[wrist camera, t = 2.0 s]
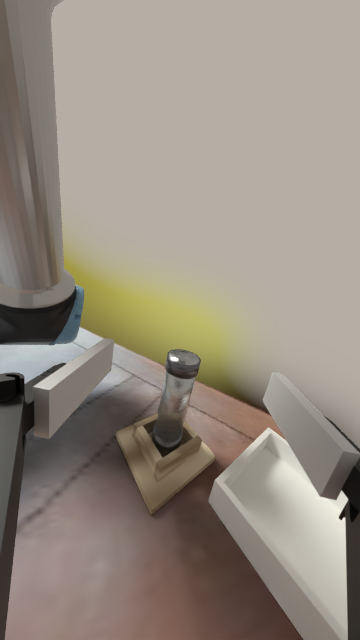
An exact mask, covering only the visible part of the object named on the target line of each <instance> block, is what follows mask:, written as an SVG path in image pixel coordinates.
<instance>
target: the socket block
mask: <svg viewBox="0 0 360 640" xmlns="http://www.w3.org/2000/svg"><path fill="white" fill-rule="evenodd" d="M157 414H158V413H157ZM157 414H155V415H153V416H150V417H148V418H146V419H143V420H141V421H139V422H137V423H134V424H132V425H130V426H128V427H125V428H123V429H121V430H118V431H116V438H117V440H118V443H119V445H120V447H121V449H122V452H123V454H124V456H125V458H126V461H127V463H128V465H129V467H130V470H131V472H132V474H133V476H134V479H135V481H136V483H137V485H138V488H139V490H140V492H141V494H142V497H143V499H144V501H145V503H146V506H147V508H148V510H149V512H150V515H152V514H153V513H155V512H156V511H157V510H158V509H159V508H160V507H162V506H163V505H164V504H165V503H166V502H167V501H169V500H170V499H171V498H172V497H173V496H174V495H175V494H177V493H178V492H179V491H180V490H181V489H182V488H184V487H185V486H186V485H187V484H188V483H189V482H191V481H192V480H193V479H194V478H195V477H196V476H198V475H199V474H200V473H201V472H202V471H203V470H204V469H206V468H207V467H208V466H209V465H210V464H211V463H213V462H214V460H215V457H216V456H215V455H214V454H213V453H212V452H211V450H210V449H209V448H208V447H207V446H206V445H205V444H204V442H203V441H202V440H201V438H200V437H199V436H198V435H197V434H196V433H195V432H194V430H193V429H192V428H191V427H190V426H189V425H188V424H187V423H186V421H184V426H183V435H182V439H181V443H180V447H179V448H177V449H176V450H174V451H173V452H171V453H170V454H168V455H166V456H165V457H163V458H162V456H161V454H160V453H159V451H158V450H157V448H156V446H155V445H154V443H153V442H152V440H151V439H152V433H153V428H154V424H155V423H156V419H157Z"/></svg>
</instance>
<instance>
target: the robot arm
mask: <svg viewBox="0 0 360 640" xmlns="http://www.w3.org/2000/svg"><path fill="white" fill-rule="evenodd" d="M62 1H63V0H0V345H55V344H67V343H71V342H72V341H74V340H75V338H76V337H77V334H78V330H79V326H80V321H81V313H82V309H83V301H84V289H83V288H82V287H79V286H77V285H75V281H74V278H73V277H72V275H71V274H70V273H69V272H68V271H67V270H65V269H64V259H63V241H62V221H61V203H60V183H59V166H58V165H59V164H58V145H57V126H56V108H55V90H54V71H53V52H52V32H51V16H52V12H53V9H54V7H55V6H56V5H58V4H59V3H60V2H62ZM113 346H114V340H111V339H106V338H105V339H103V340H102V341H100V342H99V343H97V344H96V345H94V346H93V347H91V348H90V349H88V350H87V351H85V352H84V353H82V354H81V355H79V356H78V357H76V358H75V359H73V360H72V361H70V362H69V363H67V364H66V363H61V364H58V365H55V366H53V367H51V368H50V369H48V370H47V371H46V372H43V373H42V374H40V376H37V377H35V378H34V379H32V380H31V381H29V382H27V383H26V384H24V376H23V375H22V374H20V373H4V374H0V640H5V630H6V621H7V612H8V602H9V593H10V584H11V574H12V565H13V556H14V546H15V537H16V528H17V518H18V509H19V500H20V490H21V481H22V472H23V462H24V453H25V444H26V433H27V432H28V431H29V430H30V429H31V428H32V427H33V426H34V436H36V437H41V438H45V439H50V438H51V437H52V435H53V434H54V433H55V432H56V431H57V430H58V429H59V428H60V426H61V425H62V424H63V423H64V422H65V421H66V420H67V419H68V418H69V416H70V415H71V414H72V413H73V412H74V411H75V410H76V409H77V407H78V406H79V405H80V404H81V403H82V402H83V401H84V400H85V399H86V397H87V396H88V395H89V394H90V393H91V392H92V391H93V390H94V388H95V387H96V386H97V385H98V384H99V383H100V382H101V381H102V380H103V378H104V377H105V376H106V375H107V374H108V373H109V372H110V371H111V366H112V356H113ZM263 402H264V404H265V405H266V407H267V409H268V410H269V412H270V414H271V416H272V417H273V419H274V421H275V422H276V424H277V426H278V427H279V429H280V431H281V432H282V434H283V436H284V437H285V439H286V441H287V442H288V444H289V446H290V447H291V449H292V451H293V453H294V454H295V456H296V458H297V459H298V461H299V463H300V464H301V466H302V468H303V469H304V471H305V473H306V474H307V476H308V478H309V479H310V481H311V483H312V484H313V486H314V488H315V489H316V491H317V493H318V495H319V496H320V497H323V498H328V499H332V500H337V498H338V496H339V494H340V492H341V491H343V493H344V494H345V496H346V497H347V498H348V501H347V503H346V505H345V506H344V508H343V510H342V512H341V513H340V515H339V519H340V520H341V521H342V519H343V517H345V523H346V572H347V621H348V640H360V449H359V448H358V447H357V446H356V445H355V444H354V443H353V442H352V441H351V440H350V439H349V438H347V436H346V435H345V434H344V433H343V432H341V430H340V429H339V428H338V427H337V426H336V425H335V424H334V423H333V422H332V421H330V420H329V419H328V418H326V417H325V416H323V415H322V414H321V413H320V412H319V411H318V410H317V409H316V408H315V407H314V406H313V405H312V404H311V403H310V402H309V401H308V400H307V399H306V398H305V396H303V394H302V393H301V392H300V391H299V390H298V389H297V388H296V387H295V386H294V385H292V383H291V382H290V381H289V380H288V379H287V378H286V377H285V376H284V375H283V374H282V373H276V372H272V375H271V379H270V381H269V384H268V387H267V390H266V393H265V396H264V398H263Z"/></svg>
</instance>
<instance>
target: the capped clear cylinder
mask: <svg viewBox="0 0 360 640" xmlns="http://www.w3.org/2000/svg"><path fill="white" fill-rule="evenodd" d="M200 362H201V360H200V358H199V357H198V356H197V355H196V354H194V353H192V352H190V351H186V350H179V349H176V350H171V351H169V352H168V356H167V361H166V365H165V369H166V373H165V378H164V383H163V388H162V393H161V399H160V404H159V409H158V414H157V419H156V423H155V424H154V428H153V433H152V439H151V440H152V442H153V443H154V445H155V446H156V448H157V450H158V451H159V453H160V454H161V456H162V458H163V457H165V456H166V455H168V454H170V453H171V452H173V451H174V450H176V449H177V448H179V447H180V443H181V439H182V435H183V426H184V421H185V417H186V413H187V409H188V405H189V401H190V397H191V393H192V389H193V384H194V380H195V377H196V376H197V374H198V370H199V366H200Z"/></svg>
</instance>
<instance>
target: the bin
mask: <svg viewBox="0 0 360 640" xmlns="http://www.w3.org/2000/svg"><path fill="white" fill-rule="evenodd" d="M347 501H348V498H347V497H346V496H345V494H344V493H343V491H341V492H340V494H339V496H338V498H337V500H332V499H328V498H323V497H320V496H319V495H318V493H317V491H316V489H315V488H314V486H313V484H312V483H311V481H310V479H309V478H308V476H307V474H306V473H305V471H304V469H303V468H302V466H301V464H300V463H299V461H298V459H297V458H296V456H295V454H294V453H293V451H292V449H291V447H290V446H289V444H288V442H287V441H286V440H284V439H283V438H282V437H281V436H279V435H278V434H277V433H275V432H274V431H273V430H271V429H270V428H269V427H268V428H267V429H266V430H265V431H264V432H263V433H262V434H261V435H260V436H259V437H258V438H257V439H256V440H255V441H254V442H253V443H252V444H251V445H250V446H249V447H248V448H247V449H246V450H245V451H244V452H243V453H242V454H241V455H240V456H239V457H238V458H237V459H236V460H235V461H234V462H233V463H232V464H231V465H230V466H229V467H227V468H226V469H225V470H224V471H223V472H222V473H221V474H220V475H219V476H218V477H217V478H216V479H215V481H214V484H213V487H212V490H211V493H210V497H209V500H208V503H209V504H210V505H211V507H212V508H213V510H214V511H215V513H216V514H217V516H218V517H219V518H220V520H221V521H222V523H223V524H224V526H225V527H226V529H227V530H228V531H229V533H230V534H231V536H232V537H233V539H234V540H235V542H236V543H237V544H238V546H239V547H240V549H241V550H242V552H243V553H244V555H245V556H246V557H247V559H248V560H249V562H250V563H251V565H252V566H253V568H254V569H255V570H256V572H257V573H258V575H259V576H260V578H261V579H262V581H263V582H264V583H265V585H266V586H267V588H268V589H269V591H270V592H271V594H272V595H273V596H274V598H275V599H276V601H277V602H278V604H279V605H280V607H281V608H282V609H283V611H284V612H285V614H286V615H287V617H288V618H289V620H290V621H291V622H292V624H293V625H294V627H295V628H296V630H297V631H298V633H299V634H300V635H301V637H302V638H303V640H348V621H347V572H346V523H345V517H343V519H342V521H341V520H340V519H339V515H340V513H341V512H342V510H343V508H344V506H345V505H346V503H347Z"/></svg>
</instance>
